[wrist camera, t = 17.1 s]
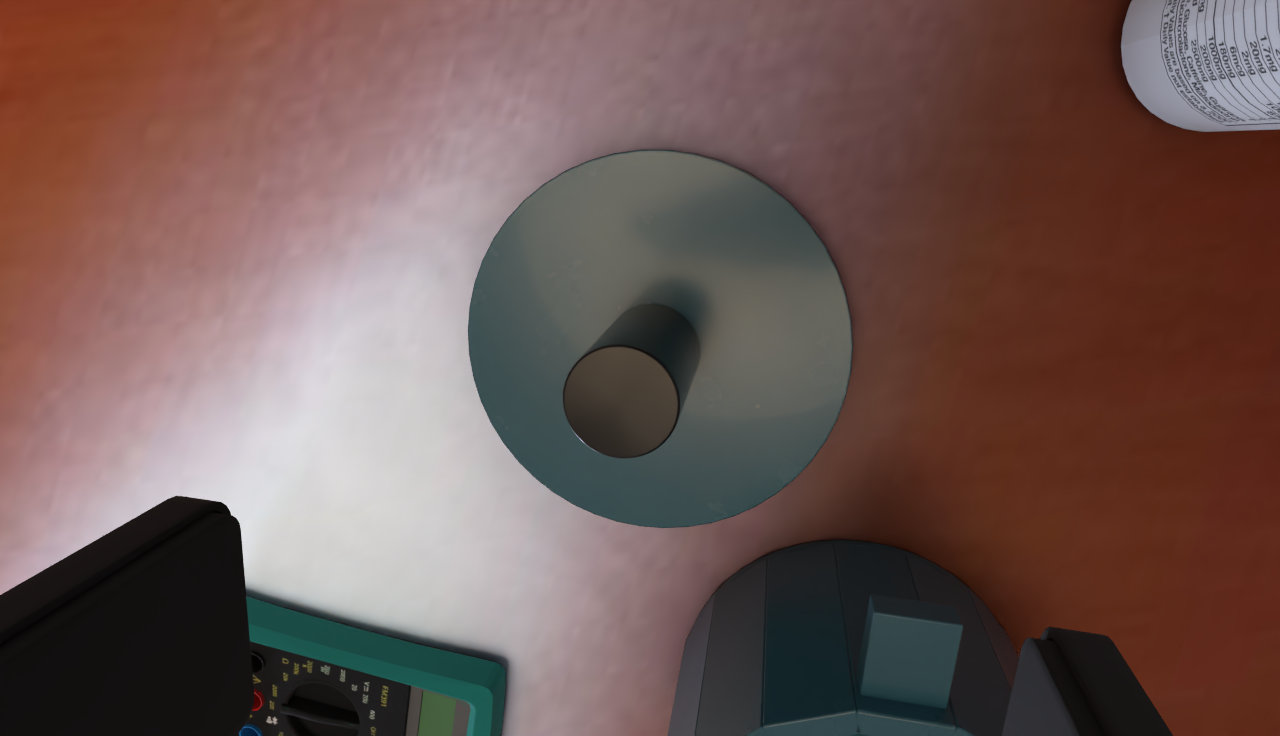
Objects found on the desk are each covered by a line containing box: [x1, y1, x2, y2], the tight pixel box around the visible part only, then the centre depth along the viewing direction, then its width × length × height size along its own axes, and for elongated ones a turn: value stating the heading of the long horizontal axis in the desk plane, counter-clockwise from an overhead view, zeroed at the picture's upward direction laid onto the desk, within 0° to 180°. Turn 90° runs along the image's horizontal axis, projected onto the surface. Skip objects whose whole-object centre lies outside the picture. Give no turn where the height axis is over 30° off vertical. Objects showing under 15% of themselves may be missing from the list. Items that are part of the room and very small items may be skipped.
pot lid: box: [468, 150, 853, 528], centre depth 28 cm, size 15×15×8 cm
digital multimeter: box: [236, 596, 506, 736], centre depth 37 cm, size 7×15×3 cm, turn 81°
